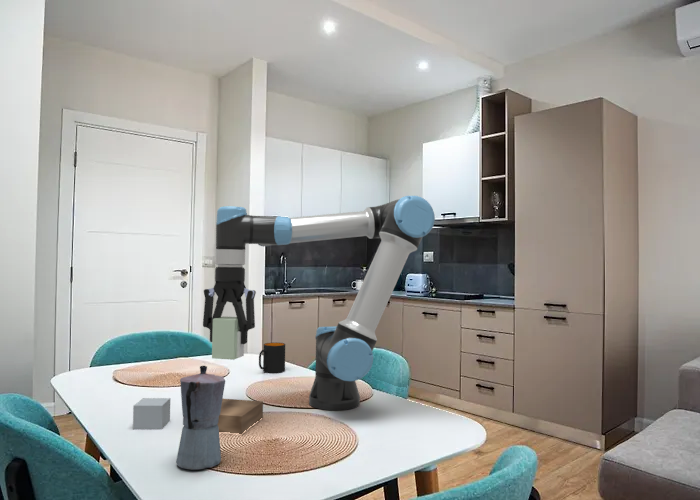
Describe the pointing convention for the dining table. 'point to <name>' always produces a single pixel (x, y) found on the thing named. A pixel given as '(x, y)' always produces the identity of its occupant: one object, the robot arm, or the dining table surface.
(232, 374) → the dining table surface
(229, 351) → the sage block
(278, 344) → the mug
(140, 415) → the slate block
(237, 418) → the walnut block
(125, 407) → the dining table surface
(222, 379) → the moka pot
